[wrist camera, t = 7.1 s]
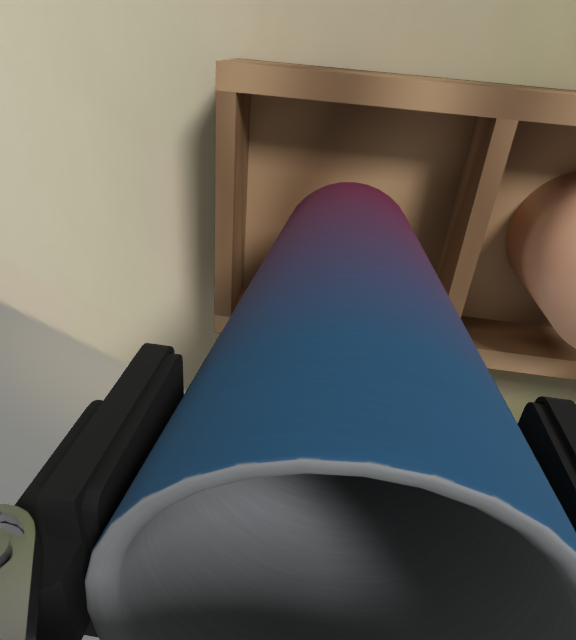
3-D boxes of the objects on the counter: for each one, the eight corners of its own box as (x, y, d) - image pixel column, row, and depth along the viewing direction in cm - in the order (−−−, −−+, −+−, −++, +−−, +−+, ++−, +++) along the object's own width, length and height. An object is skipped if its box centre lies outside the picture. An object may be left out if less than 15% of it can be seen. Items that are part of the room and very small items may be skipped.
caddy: (758, 108, 21) (840, 120, 17) (635, 347, 27) (677, 393, 23) (237, 58, 22) (216, 61, 19) (231, 296, 28) (214, 332, 24)
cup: (355, 347, 22) (359, 798, 9) (229, 256, 20) (9, 634, 7) (473, 233, 19) (747, 668, 6) (334, 115, 17) (279, 339, 4)
